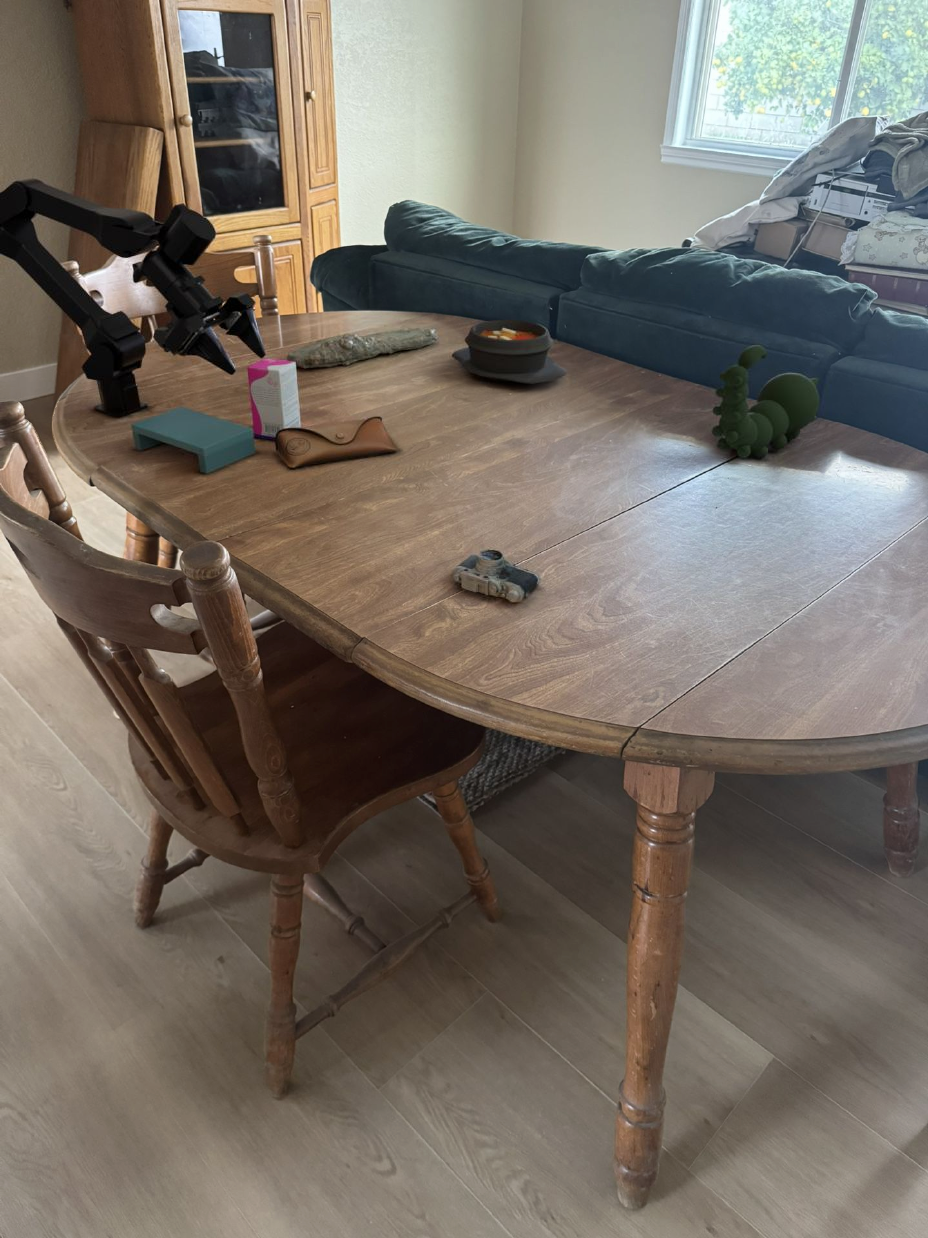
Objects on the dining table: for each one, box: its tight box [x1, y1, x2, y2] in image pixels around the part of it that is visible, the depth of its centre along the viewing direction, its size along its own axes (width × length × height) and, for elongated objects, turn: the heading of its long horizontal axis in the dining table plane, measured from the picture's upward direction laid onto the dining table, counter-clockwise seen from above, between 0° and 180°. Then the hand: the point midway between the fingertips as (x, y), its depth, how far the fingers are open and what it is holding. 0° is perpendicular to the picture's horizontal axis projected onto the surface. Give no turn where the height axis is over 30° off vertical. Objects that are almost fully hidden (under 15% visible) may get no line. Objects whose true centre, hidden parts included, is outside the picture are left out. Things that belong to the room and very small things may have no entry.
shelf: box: [130, 406, 256, 475], centre depth 140 cm, size 16×10×4 cm, turn 56°
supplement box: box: [246, 357, 302, 441], centre depth 145 cm, size 6×6×12 cm
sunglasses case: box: [274, 415, 399, 469], centre depth 141 cm, size 18×7×7 cm, turn 116°
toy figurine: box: [711, 344, 820, 459], centre depth 143 cm, size 9×19×25 cm
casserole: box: [451, 319, 568, 385], centre depth 175 cm, size 25×19×8 cm
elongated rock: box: [286, 326, 438, 369], centre depth 184 cm, size 35×5×10 cm
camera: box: [452, 549, 541, 603], centre depth 107 cm, size 5×10×4 cm, turn 57°
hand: (249, 364), depth 143 cm, fingers open, 9 cm apart
